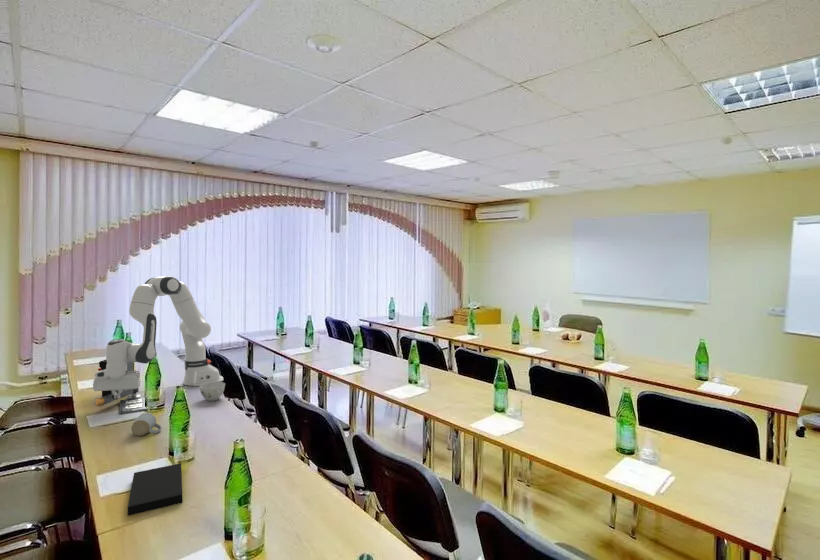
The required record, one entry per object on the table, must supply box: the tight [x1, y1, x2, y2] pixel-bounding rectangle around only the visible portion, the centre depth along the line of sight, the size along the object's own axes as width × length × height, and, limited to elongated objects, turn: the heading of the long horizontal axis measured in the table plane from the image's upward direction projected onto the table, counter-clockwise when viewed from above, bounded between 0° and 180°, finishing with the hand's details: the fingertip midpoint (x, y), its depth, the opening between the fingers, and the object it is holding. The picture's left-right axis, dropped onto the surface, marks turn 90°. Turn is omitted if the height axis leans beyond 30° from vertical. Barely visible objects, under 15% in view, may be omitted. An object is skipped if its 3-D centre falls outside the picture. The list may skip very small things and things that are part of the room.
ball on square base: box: [126, 393, 141, 399], centre depth 231 cm, size 6×6×3 cm
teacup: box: [199, 381, 226, 402], centre depth 228 cm, size 15×12×8 cm
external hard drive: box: [127, 462, 184, 517], centre depth 138 cm, size 14×23×3 cm, turn 29°
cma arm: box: [95, 387, 140, 407], centre depth 221 cm, size 25×4×3 cm, turn 171°
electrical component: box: [97, 359, 135, 397], centre depth 239 cm, size 18×10×20 cm, turn 179°
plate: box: [118, 396, 148, 415], centre depth 218 cm, size 12×22×1 cm, turn 33°
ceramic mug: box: [131, 412, 162, 437], centre depth 185 cm, size 11×8×8 cm
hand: (117, 398), depth 217 cm, fingers closed
